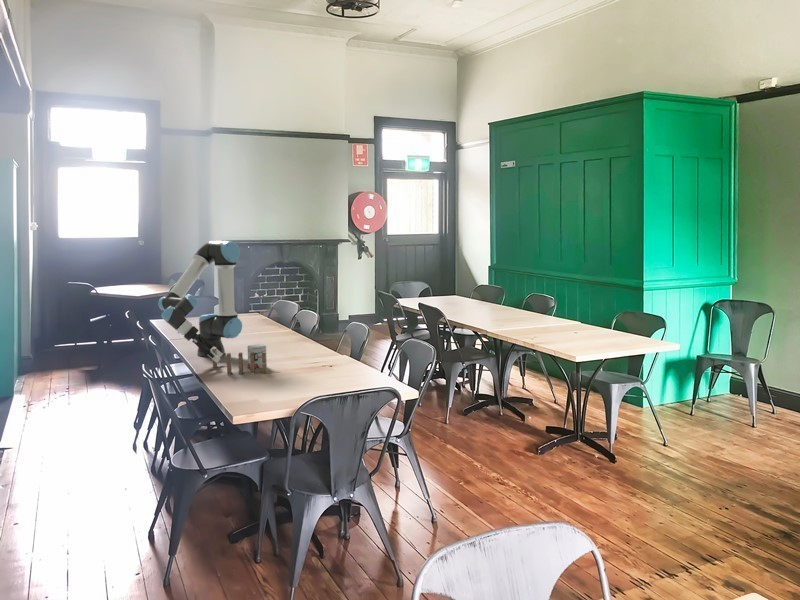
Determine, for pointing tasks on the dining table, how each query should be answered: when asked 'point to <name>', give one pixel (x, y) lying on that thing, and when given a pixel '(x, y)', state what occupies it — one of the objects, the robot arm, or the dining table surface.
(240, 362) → the domino
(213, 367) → the head domino
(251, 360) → the domino
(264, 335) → the dining table surface
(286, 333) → the dining table surface
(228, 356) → the domino
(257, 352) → the ink box
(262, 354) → the domino
